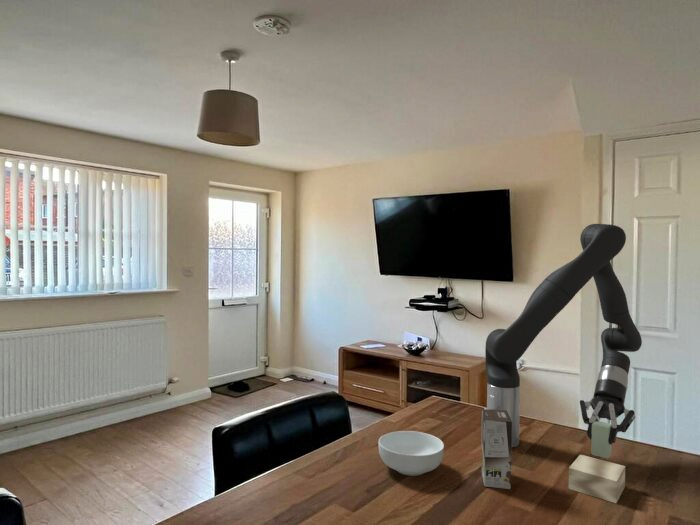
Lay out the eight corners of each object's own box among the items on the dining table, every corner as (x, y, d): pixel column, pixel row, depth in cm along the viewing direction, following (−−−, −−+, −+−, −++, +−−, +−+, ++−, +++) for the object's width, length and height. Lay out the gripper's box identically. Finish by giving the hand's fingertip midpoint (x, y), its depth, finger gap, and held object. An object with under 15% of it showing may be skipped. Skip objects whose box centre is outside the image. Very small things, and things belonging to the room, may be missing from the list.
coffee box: (511, 489, 109) (512, 421, 109) (483, 487, 111) (484, 419, 110) (506, 472, 118) (507, 409, 118) (480, 469, 120) (481, 407, 119)
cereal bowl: (456, 468, 120) (456, 441, 120) (419, 492, 108) (419, 462, 108) (403, 449, 132) (403, 424, 132) (364, 468, 120) (365, 441, 120)
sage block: (591, 454, 123) (591, 424, 123) (594, 449, 126) (595, 420, 126) (607, 458, 121) (608, 428, 121) (611, 453, 124) (612, 424, 124)
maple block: (568, 488, 110) (568, 467, 110) (579, 473, 118) (580, 454, 118) (616, 503, 104) (616, 481, 104) (624, 486, 111) (625, 466, 111)
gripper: (581, 373, 134) (568, 426, 125) (639, 383, 125) (629, 441, 116) (586, 388, 138) (573, 440, 129) (642, 398, 129) (633, 455, 120)
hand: (600, 440), depth 122 cm, fingers closed on sage block, 4 cm apart
